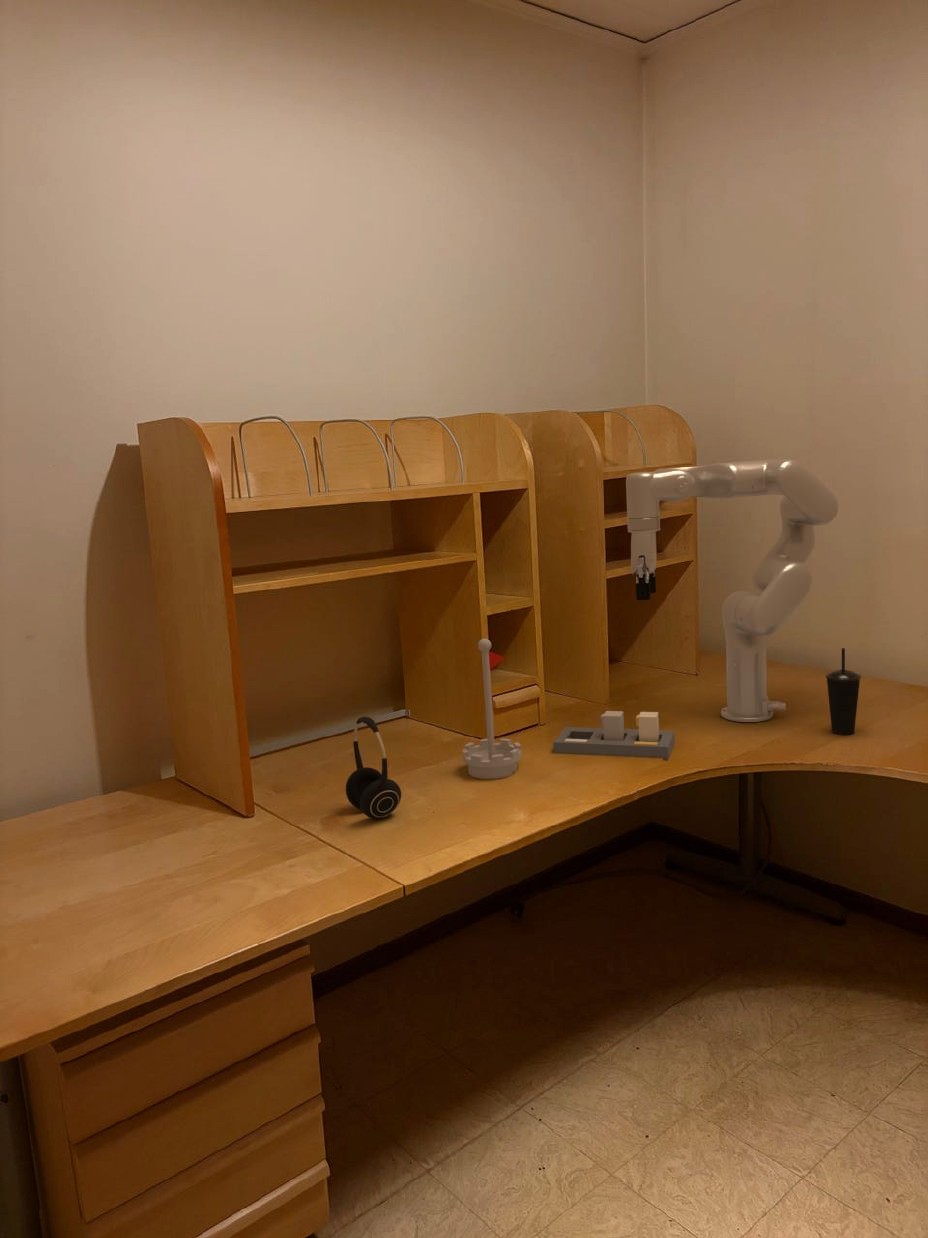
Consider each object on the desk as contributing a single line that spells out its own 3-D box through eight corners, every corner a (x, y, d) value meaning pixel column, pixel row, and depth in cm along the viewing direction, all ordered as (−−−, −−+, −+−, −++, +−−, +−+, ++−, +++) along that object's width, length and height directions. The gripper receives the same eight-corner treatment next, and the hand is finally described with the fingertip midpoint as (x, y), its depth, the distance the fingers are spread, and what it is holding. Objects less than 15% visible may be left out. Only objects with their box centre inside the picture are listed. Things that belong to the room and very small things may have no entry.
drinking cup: (854, 726, 220) (855, 644, 217) (865, 736, 213) (866, 651, 209) (821, 727, 221) (821, 645, 218) (830, 737, 214) (830, 652, 210)
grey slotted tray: (674, 743, 218) (673, 708, 216) (668, 760, 207) (666, 723, 205) (565, 738, 226) (564, 705, 225) (553, 754, 215) (552, 719, 214)
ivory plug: (659, 745, 215) (658, 712, 214) (657, 751, 211) (656, 717, 210) (638, 745, 217) (637, 711, 215) (636, 750, 213) (635, 716, 211)
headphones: (379, 797, 196) (371, 706, 192) (410, 819, 183) (402, 721, 180) (341, 807, 192) (332, 714, 188) (370, 830, 179) (361, 730, 176)
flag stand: (485, 785, 199) (476, 648, 194) (452, 770, 210) (443, 639, 205) (533, 770, 206) (526, 637, 201) (499, 756, 217) (491, 630, 212)
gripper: (633, 522, 229) (636, 590, 232) (621, 529, 213) (624, 603, 216) (664, 520, 227) (666, 590, 230) (654, 528, 211) (657, 602, 214)
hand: (646, 596), depth 223 cm, fingers open, 9 cm apart
